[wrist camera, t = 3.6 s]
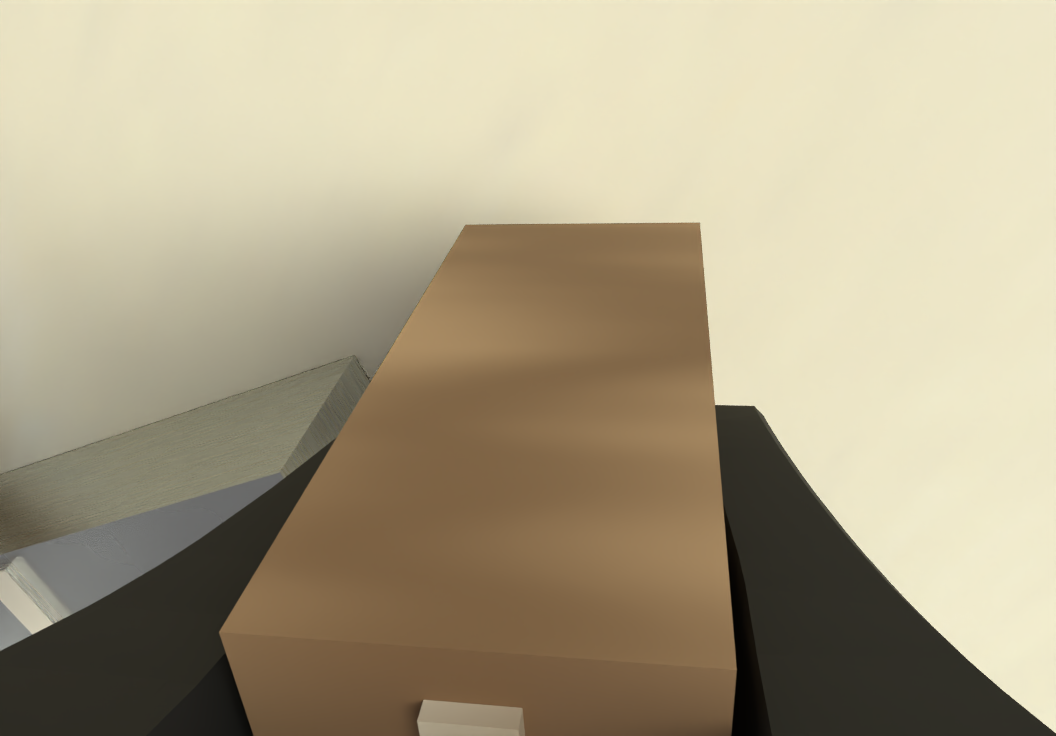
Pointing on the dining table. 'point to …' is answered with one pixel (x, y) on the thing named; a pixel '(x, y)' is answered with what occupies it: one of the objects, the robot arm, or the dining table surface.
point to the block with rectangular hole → (154, 492)
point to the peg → (513, 511)
